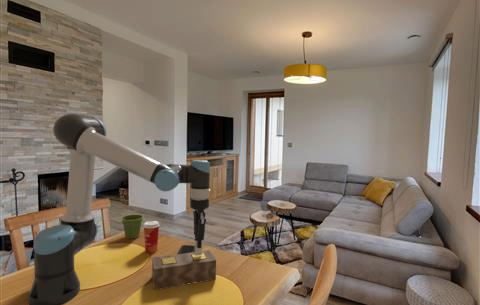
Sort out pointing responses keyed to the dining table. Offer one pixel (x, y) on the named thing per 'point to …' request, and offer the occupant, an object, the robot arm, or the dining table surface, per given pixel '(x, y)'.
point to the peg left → (168, 261)
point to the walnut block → (183, 270)
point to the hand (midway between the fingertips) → (198, 254)
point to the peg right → (198, 257)
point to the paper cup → (151, 236)
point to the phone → (186, 249)
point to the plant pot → (132, 225)
